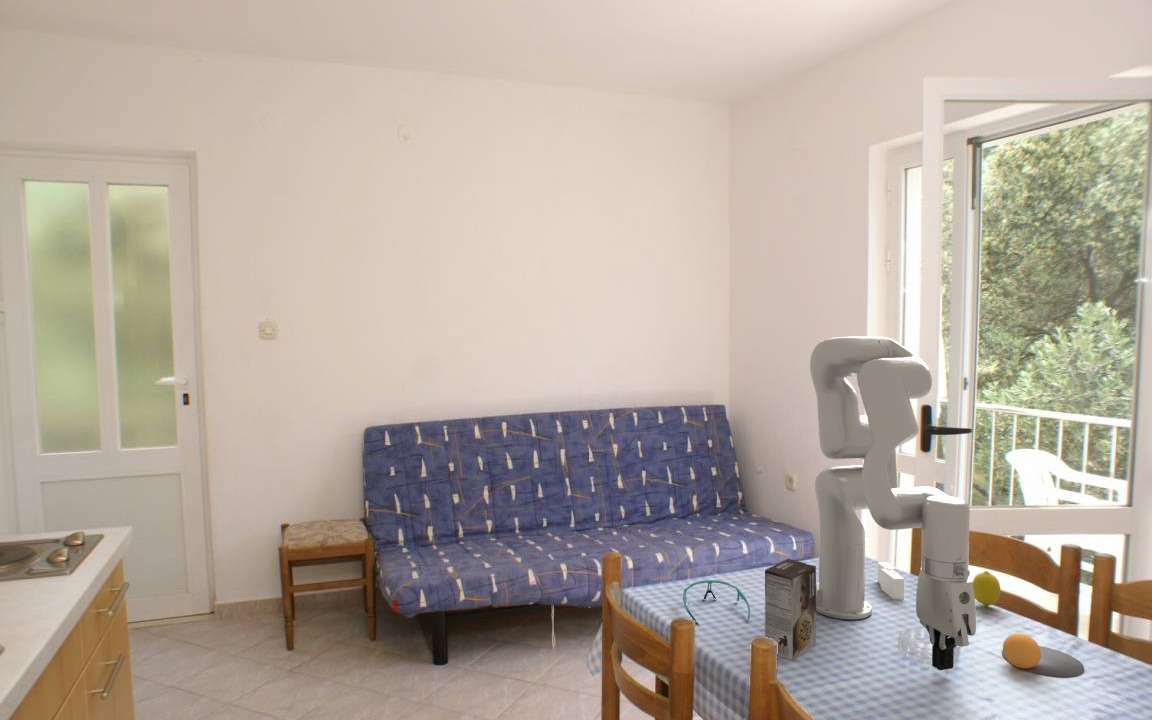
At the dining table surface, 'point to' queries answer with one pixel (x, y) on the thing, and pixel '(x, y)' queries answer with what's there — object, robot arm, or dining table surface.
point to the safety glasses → (713, 594)
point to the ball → (1021, 650)
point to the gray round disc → (1056, 664)
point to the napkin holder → (890, 581)
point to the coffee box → (791, 607)
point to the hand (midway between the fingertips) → (942, 667)
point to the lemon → (986, 588)
